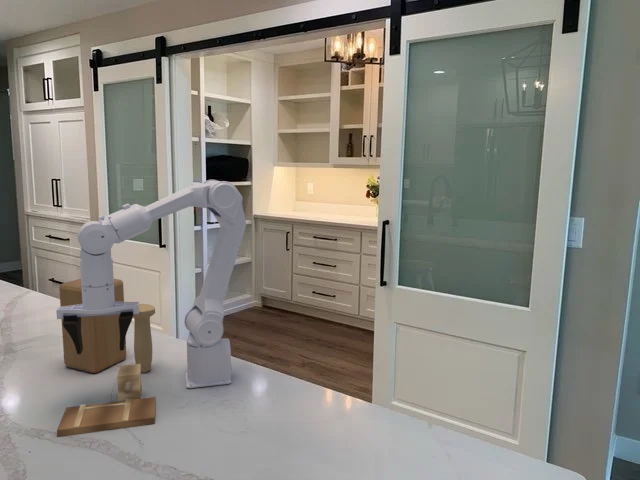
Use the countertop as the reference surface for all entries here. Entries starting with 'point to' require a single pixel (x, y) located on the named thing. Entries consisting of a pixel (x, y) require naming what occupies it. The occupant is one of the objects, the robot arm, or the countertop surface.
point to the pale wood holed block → (129, 382)
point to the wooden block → (92, 332)
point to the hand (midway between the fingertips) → (101, 350)
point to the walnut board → (107, 416)
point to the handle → (143, 337)
